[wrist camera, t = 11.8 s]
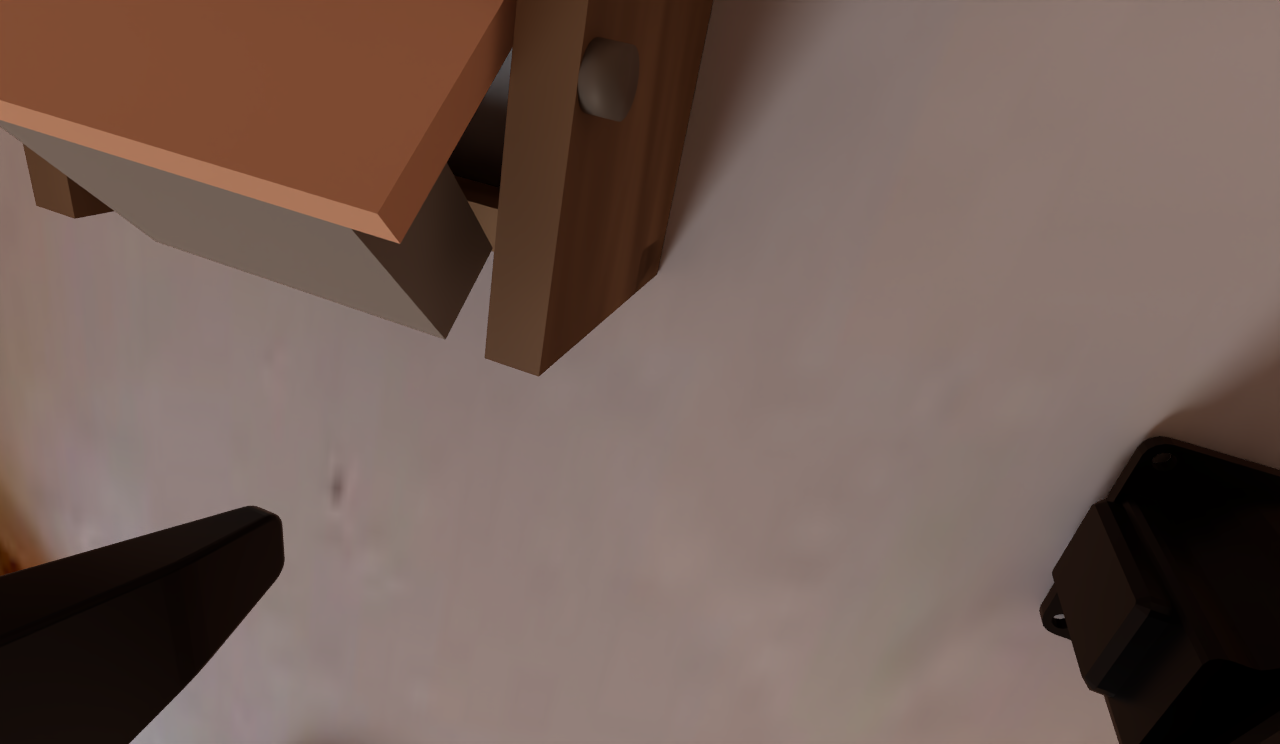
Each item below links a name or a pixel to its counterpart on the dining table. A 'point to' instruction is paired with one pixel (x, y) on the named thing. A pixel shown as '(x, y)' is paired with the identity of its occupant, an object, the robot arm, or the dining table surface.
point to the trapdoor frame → (562, 167)
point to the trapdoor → (272, 133)
